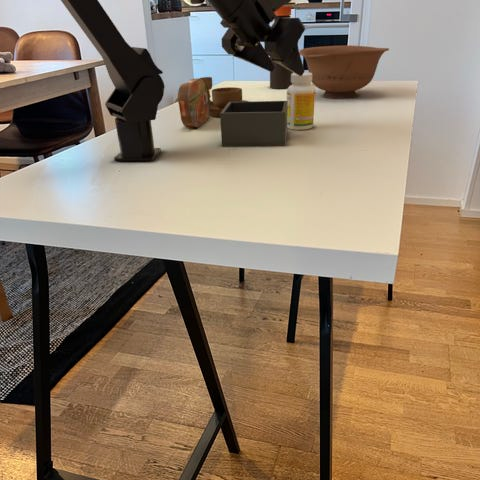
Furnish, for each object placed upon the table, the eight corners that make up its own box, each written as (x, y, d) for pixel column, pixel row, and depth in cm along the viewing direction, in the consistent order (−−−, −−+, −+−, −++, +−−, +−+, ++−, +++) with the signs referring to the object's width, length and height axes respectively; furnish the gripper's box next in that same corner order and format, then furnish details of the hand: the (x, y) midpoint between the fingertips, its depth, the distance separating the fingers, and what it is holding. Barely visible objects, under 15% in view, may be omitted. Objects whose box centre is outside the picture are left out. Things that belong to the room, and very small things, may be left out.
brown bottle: (282, 85, 145) (282, 6, 134) (297, 86, 140) (299, 5, 129) (265, 87, 141) (264, 7, 130) (280, 89, 137) (281, 6, 126)
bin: (285, 145, 84) (285, 112, 81) (221, 146, 85) (220, 113, 82) (287, 131, 93) (287, 100, 90) (230, 132, 94) (228, 101, 91)
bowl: (304, 104, 116) (305, 53, 110) (292, 91, 134) (293, 46, 128) (394, 100, 116) (401, 49, 110) (370, 87, 134) (375, 42, 128)
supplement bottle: (280, 128, 96) (281, 74, 90) (297, 123, 99) (298, 71, 93) (302, 131, 92) (304, 76, 87) (318, 126, 96) (321, 72, 90)
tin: (193, 131, 96) (189, 85, 91) (178, 131, 96) (173, 85, 92) (212, 116, 108) (209, 75, 103) (198, 116, 109) (195, 75, 104)
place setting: (184, 117, 108) (181, 89, 105) (202, 102, 124) (200, 77, 121) (261, 117, 105) (261, 87, 102) (269, 101, 122) (269, 75, 119)
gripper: (296, -47, 70) (347, 35, 81) (232, -37, 84) (283, 32, 95) (253, 19, 71) (309, 91, 82) (196, 19, 85) (250, 81, 96)
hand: (287, 71), depth 89 cm, fingers open, 9 cm apart
